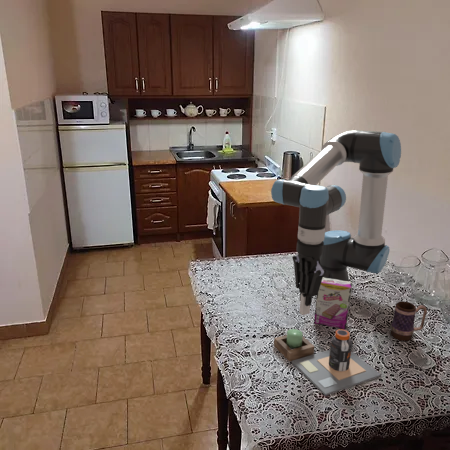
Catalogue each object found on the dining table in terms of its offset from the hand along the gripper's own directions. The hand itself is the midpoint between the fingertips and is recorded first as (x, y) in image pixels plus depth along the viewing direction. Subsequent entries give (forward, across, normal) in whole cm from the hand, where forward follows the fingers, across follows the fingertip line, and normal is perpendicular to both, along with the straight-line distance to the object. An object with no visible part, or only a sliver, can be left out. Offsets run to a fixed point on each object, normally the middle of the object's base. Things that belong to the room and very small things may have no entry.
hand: (304, 313), depth 130 cm
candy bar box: (+15, -10, +20) cm, 26 cm away
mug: (+15, +8, +37) cm, 41 cm away
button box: (+14, -2, -1) cm, 14 cm away
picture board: (+14, +11, +4) cm, 18 cm away
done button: (+12, -2, -1) cm, 12 cm away
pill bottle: (+14, +11, +5) cm, 18 cm away
